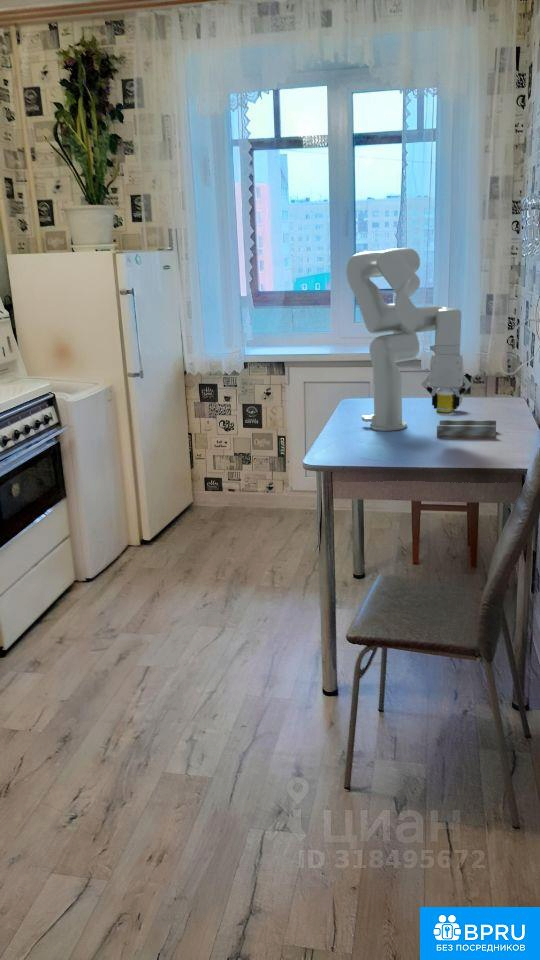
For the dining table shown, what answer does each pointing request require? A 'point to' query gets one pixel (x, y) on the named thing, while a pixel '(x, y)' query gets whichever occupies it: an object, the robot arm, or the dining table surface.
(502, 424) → the dining table surface
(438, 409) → the supplement bottle
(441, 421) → the track
